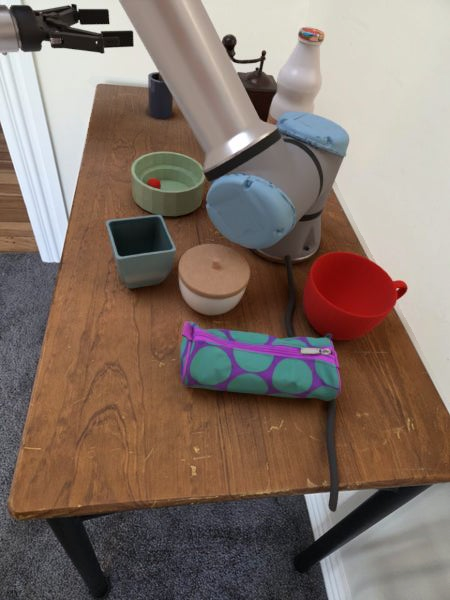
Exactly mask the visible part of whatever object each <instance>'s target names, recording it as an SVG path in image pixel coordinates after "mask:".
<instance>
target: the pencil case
mask: <svg viewBox="0 0 450 600" xmlns="http://www.w3.org/2000/svg"><path fill="white" fill-rule="evenodd" d="M181 336H182V339H181V342H180V347H179V348H180V349H179V377H180V380H181V385H183V386H184V387H188V388H189V387H190V388H193V389H205V390H210V391H211V390H212V391H222V392H232V393H240V394H253V395H261V396H271V397H279V398H290V399H318V400H321V401H324V402H329V401H330V400H332V399H334V398H336V399H337V397H338V396H339V395H340V393H341V391H342V380H341V375H340V369H341V367H340V363H339V360H338V354H337V351H336V350H335V347H334V343H333V341H332V339H331V337H332V334H326V336H325V337H324V336H323V337H311V336H295V337H293V338H289V337H283V338H280V337H277V336H274V335H271V334H266V333H259V332H252V331H243V330H231V329H224V328H208V329H204V328H202V327H201V326H199V325H198V323H196V322H195V321H191V320H190V321H184V323H183V327H182V331H181Z"/></svg>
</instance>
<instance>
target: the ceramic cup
mask: <svg viewBox="0 0 450 600" xmlns="http://www.w3.org/2000/svg"><path fill="white" fill-rule="evenodd" d="M408 290H409V289H408V285H407V283H406V282H405V281H404V280H400V279H398V280H397V279H396V280H393V278H392V277H391V276H390V275H389V273H388V272H387V271H386V270H385V269H384V268H383V267H382V266H380V265H379V264H378V263H376V262H375V261H372V260H371V259H369V258H368V257H365V256H362V255H360V254H357V253H353V252H349V251H333V252H332V251H331V252H328V253H325V254H322V255H321V256H319V257H318V258H316V260H314V262H312V265H311V267H310V268H309V271H308V274H307V277H306V280H305V283H304V289H303V294H302V305H303V310H304V314H305V317H306V318H307V320H308V322H309V324H310V325H311V327H313V329H314V330H315V331H316V332H317V333H318V334H319V335H320V336H322V337H323V338H324V337H325V336H326V334H332V337H331V340H334V341H335V340H336V341H351V340H355V339H358V338H361V337H362V336H365V335H368V334H369V333H371V332H372V331H374V329H375V328H376V327H378V326H379V325H380V324H381V323H382V322H383V321H384V320H385V319H386V318H387V316H389V314H391V312H392V310H393V309H394V307H395V306H396V304H397V301H398V300H400V299H401V298H402V297H404V295H406V294H407V292H408Z"/></svg>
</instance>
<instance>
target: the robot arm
mask: <svg viewBox="0 0 450 600" xmlns="http://www.w3.org/2000/svg"><path fill="white" fill-rule="evenodd" d="M118 2H119V4H120V5H121V7H122V9H123V10H124V13H125V15H126V16H127V18H128V20H129V21H130V23H131V25H132V27H133V28H134V31H135V32H136V34H137V35H138V37H139V39H140V41H141V42H142V45H143V46H144V48H145V50H146V51H147V53H148V55H149V57H150V59H151V61H152V63H153V64H154V65H155V67H156V69H157V72H159V73H160V75H161V76H162V78H163V80H164V82H165V84H166V85H167V87H168V89H169V91H170V92H171V94H172V96H173V101H175V103H176V105H177V107H178V108H179V110H180V112H181V114H182V115H183V117H184V119H185V121H186V123H187V125H188V127H189V129H190V130H191V132H192V133H193V136H194V137H195V138H196V141H197V142H198V144H199V146H200V148H201V149H202V151H203V153H204V161H203V165H202V167H203V170H202V172H203V173H204V175H205V180H206V181H207V182H208V184H209V189H208V191H207V194H206V197H205V198H206V205H205V209H206V213H207V215H208V217H209V219H210V222H211V223H212V225H213V226H214V228H215V229H216V230H217V231H218V232H219V233H220V234H221V235H222V236H223V237H224V238H226V239H227V240H228V241H230V242H231V243H233V244H235V245H237V244H238V245H240V246H241V247H243V248H246V249H249V250H250V251H251V252H253V254H255V255H256V256H258V257H259V258H262V259H264V260H266V261H268V262H270V263H271V262H272V263H275V264H280V265H285V267H286V269H285V270H286V276H287V281H288V293H289V295H288V297H289V298H288V303H287V307H286V312H285V315H284V328H285V331H286V334H287V338H293V337H296V335H295V333H294V331H293V327H292V316H293V312H294V308H295V304H296V286H295V279H294V272H293V265H298V264H302V263H305V262H308V261H309V260H311V259H312V258H313V257H314V256H315V255H316V254H317V251H318V249H319V247H320V243H321V239H322V213H323V211H324V208H325V206H326V204H327V200H328V198H329V196H330V193H331V191H332V188H333V186H334V184H335V181H336V178H337V176H338V173H339V172H340V169H341V166H342V163H343V161H344V158H346V156H347V151H348V147H349V144H350V136H349V133H348V132H347V131H346V130H345V128H343V127H342V126H341V125H340V124H338V123H336V122H335V121H333V120H331V119H329V118H326V117H323V116H321V115H318V114H315V113H313V114H311V113H306V112H298V111H291V112H286V113H283V114H282V115H281V116H280V117H279V119H278V121H277V124H276V125H273V124H269V123H266V122H263V121H262V120H260V118H259V116H258V114H257V112H256V110H255V108H254V106H253V104H252V102H251V100H250V98H249V96H248V94H247V92H246V90H245V88H244V86H243V84H242V82H241V80H240V78H239V76H238V74H237V72H238V71H237V70H236V68H235V66H234V64H233V62H232V61H231V59H230V58H229V56H228V54H227V52H226V50H225V48H224V46H223V44H222V39H221V38H220V36H219V34H218V31H217V29H216V27H215V25H214V23H213V22H212V20H211V17H210V15H209V13H208V11H207V10H206V8H205V5H204V3H203V2H202V0H118ZM78 23H79V24H80V25H81V26H87V25H88V26H90V25H92V26H93V25H96V26H97V25H110V23H111V22H110V10H109V9H108V8H78V5H77V4H76V3H71V4H67V5H63V6H56V7H49V8H46V9H37V10H35V9H33V7H31V5H28V4H11V5H10V6H9V7H8V6H7V5H6V4H0V54H2V56H7V55H8V53H19V51H20V50H21V52H23V53H35V52H36V53H37V52H38V53H39V52H41V51H42V48H43V45H42V44H43V42H48V43H50V47H51V49H67V50H74V51H84V52H92V53H98V54H102V55H103V54H105V53H106V51H105V49H109V48H111V49H112V48H134V46H135V45H134V31H133V30H100V32H96V31H91V30H86V29H81V28H77V27H73V26H74V25H76V24H78ZM327 406H328V407H327V408H328V409H327V416H326V417H327V418H326V430H325V433H326V450H327V458H328V468H329V484H330V485H329V496H328V497H329V499H328V509H329V511H330V512H332V513H335V512H337V507H338V503H339V502H338V501H339V494H340V493H339V491H340V479H339V478H340V477H339V466H338V459H337V453H336V446H335V445H336V444H335V421H336V410H337V397H336V398H334V399H332V400H330V401H328V405H327Z"/></svg>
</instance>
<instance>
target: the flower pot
mask: <svg viewBox="0 0 450 600" xmlns="http://www.w3.org/2000/svg"><path fill="white" fill-rule="evenodd" d="M105 225H106V230H107V234H108V239H109V244H110V247H111V250H112V255H113V257H114V261H115V264H116V268H117V271H118V275H119V278H120V280H121V282H122V284H123V285H124V286H125V287H126V288H129V289H138V288H142V287H149V286H155V285H159V284H161V283H162V282H163V281H164V280H166V279H167V277H168V276H169V275H170V273H171V271H172V268H173V265H174V260H175V256H176V252H177V247H176V245H175V243H174V240H173V238H172V237H171V234H170V232H169V229H168V227H167V224H166V222H165V219H164V216H163V215H158V214H150V215H142V216H134V217H123V218H115V219H107V220H106V222H105Z"/></svg>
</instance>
